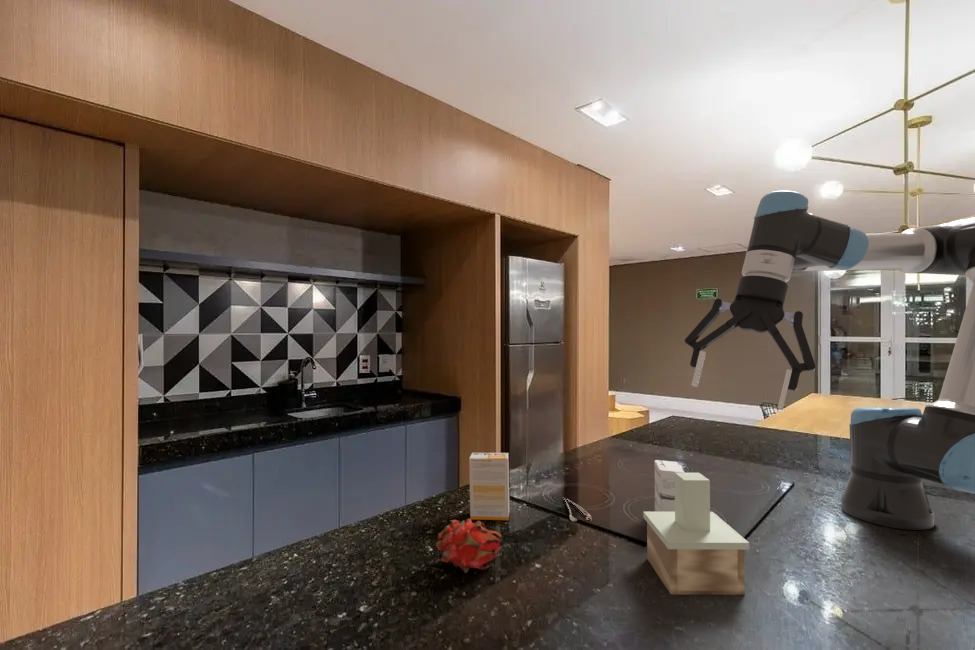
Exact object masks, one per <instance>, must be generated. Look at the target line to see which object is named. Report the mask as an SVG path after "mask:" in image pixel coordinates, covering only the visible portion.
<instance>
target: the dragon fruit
mask: <svg viewBox="0 0 975 650" xmlns="http://www.w3.org/2000/svg"><path fill="white" fill-rule="evenodd" d="M472 521H473V520H471V518H467V519H465V520H464V519H463V520H462V521H460V520H457V519H452V520H450V523H449V524H448V525H445V526H444V527H443V528H444V529H442V530H441V531H440V532H438V534H437V541H435V542H434V544H435V546H436V548H437V549H438V550H439V551H443V554H442V553H441V552H440V553H439V555H438V559H439V560H440V561H441V562H445V563H448V562H450V561H451V562H452V565H453V567H454V566H455V567H456V568H458V567H459V568H460V570H462V571H463V573H464V574H466V573H468V572H469V570H470V568H471V569H479V570H481V571H484V570H486V569H488V568H490V567H492V566H493V563H491V562H490V561H492V560H494V559H495V557H496V556H497V555H499V552H500V551H501V550H502V549H503V547H504V545H505V544H506V540H505V539H504V537H503V535H502V534H501V533H500V532H499V531H495V530H491V529H487V528H486V526H485V523H484V522H481V520H476V522H472ZM502 540H503V541H502ZM488 562H490V563H488ZM455 567H454V568H455ZM456 568H455V569H456Z"/></svg>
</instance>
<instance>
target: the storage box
mask: <svg viewBox="0 0 975 650" xmlns="http://www.w3.org/2000/svg"><path fill="white" fill-rule="evenodd" d="M646 523H647V522H646ZM646 540H647V543H646V548H647V549H646V550H647V551H646V554H647V561H648V562H649V563H650V566H651V567H652V568H653V570H654V571H655V573H656V575H657V576H658V578H660V579H659V580H661V582H662V583H663V585H664V586H665V588H666V590H667V591H668V592H669V594H670V595H678V596H679V595H683V596H684V595H685V596H686V595H695V596H697V595H698V596H699V595H700V596H701V595H703V596H704V595H708V596H713V595H714V596H716V595H717V596H724V595H725V596H726V595H727V596H738V595H739V596H744V595H746V593H745V592H746V591H745V589H746V588H745V579H746V578H745V576H746V574H745V550H726V549H668V548H667V547H666V546H665V544H664V543H663V542H662V540H661V539H660V538H659V537H658V535H657V534H656V533H655V532H654V530H653V529H652V528H651V526H650V525H649V524H648V523H647V524H646Z"/></svg>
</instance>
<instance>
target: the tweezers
mask: <svg viewBox="0 0 975 650" xmlns="http://www.w3.org/2000/svg"><path fill="white" fill-rule="evenodd" d="M564 500H565V501H564ZM567 500H568V501H567ZM563 501H564V503H565V502H566V503H565V505H566V507H567V510H568V509H569V510H568V512H569V520H570V521H571V522H577V521H578V519H577V518H576V517H574V516H573V515H572V510H571V508H570V506H569V504H568V503H570V502H571V503H572V504H573V505H575V506H576V507H577V508H578V509H579V510H580V511H581V512H582V513H583V514H584V515H586V516H587V517H585V520H586V521H587V520H589V519H588V518H590V519H591V520H593V519H592V515H591V514H590V513H589V512H588V511H586V510H585V508H584V507H582V506H580V505H579V504H577V503H575V502H574V501H572V500H570V499H568V498H567V499H566V498H564V499H563ZM571 503H570V504H571ZM572 504H571V505H572ZM573 505H572V506H573ZM575 506H574V507H575ZM576 507H575V508H576ZM577 508H576V509H577ZM580 511H579V512H580ZM581 512H580V513H581ZM582 513H581V514H582ZM583 514H582V515H583ZM584 515H583V516H584Z"/></svg>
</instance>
